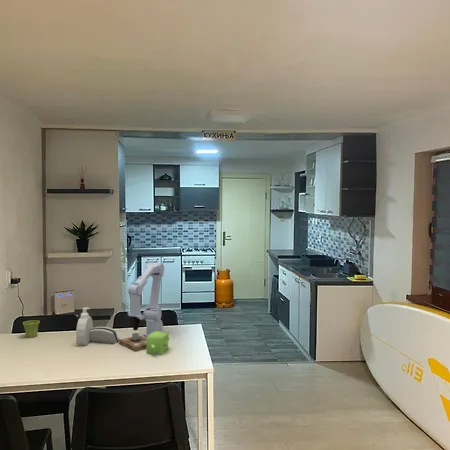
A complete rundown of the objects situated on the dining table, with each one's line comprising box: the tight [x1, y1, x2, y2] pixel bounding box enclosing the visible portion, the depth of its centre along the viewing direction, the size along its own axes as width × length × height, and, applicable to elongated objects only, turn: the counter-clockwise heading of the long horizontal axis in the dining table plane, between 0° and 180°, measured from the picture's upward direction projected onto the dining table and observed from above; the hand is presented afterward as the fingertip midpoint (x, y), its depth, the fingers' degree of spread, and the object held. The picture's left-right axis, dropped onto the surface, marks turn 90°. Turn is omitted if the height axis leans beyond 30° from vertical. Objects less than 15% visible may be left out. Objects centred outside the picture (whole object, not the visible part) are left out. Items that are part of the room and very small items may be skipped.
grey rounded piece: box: [90, 326, 120, 344], centre depth 251 cm, size 17×5×10 cm, turn 75°
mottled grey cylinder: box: [131, 332, 139, 342], centre depth 246 cm, size 4×4×6 cm
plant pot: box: [22, 320, 41, 339], centre depth 262 cm, size 9×9×9 cm
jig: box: [118, 335, 147, 352], centre depth 245 cm, size 13×18×3 cm
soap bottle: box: [75, 307, 94, 346], centre depth 250 cm, size 16×5×20 cm, turn 1°
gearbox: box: [145, 331, 170, 355], centre depth 233 cm, size 18×10×10 cm, turn 167°
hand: (135, 329), depth 246 cm, fingers closed
